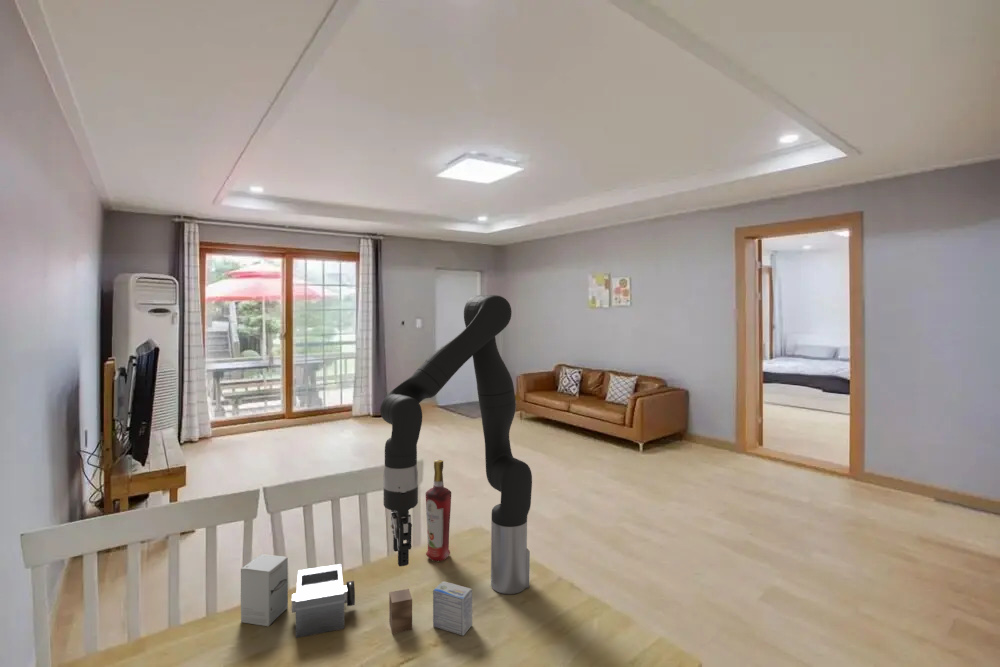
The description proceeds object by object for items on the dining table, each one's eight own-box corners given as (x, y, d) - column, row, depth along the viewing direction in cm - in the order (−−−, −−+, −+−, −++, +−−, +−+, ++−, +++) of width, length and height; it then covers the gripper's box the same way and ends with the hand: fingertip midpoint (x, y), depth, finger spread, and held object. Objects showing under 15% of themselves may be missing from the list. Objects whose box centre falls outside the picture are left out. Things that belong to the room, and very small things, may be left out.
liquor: (419, 559, 145) (420, 462, 143) (436, 549, 151) (436, 456, 149) (440, 566, 141) (440, 466, 139) (456, 555, 147) (456, 460, 146)
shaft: (353, 597, 123) (353, 576, 123) (354, 609, 118) (354, 587, 118) (292, 608, 118) (292, 586, 118) (291, 621, 113) (291, 598, 113)
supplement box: (269, 627, 113) (268, 571, 113) (239, 622, 115) (239, 568, 114) (289, 608, 121) (288, 556, 120) (261, 604, 122) (260, 552, 121)
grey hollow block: (341, 595, 126) (341, 563, 126) (344, 628, 113) (344, 593, 113) (298, 602, 123) (297, 570, 123) (295, 637, 110) (295, 601, 109)
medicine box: (472, 625, 115) (473, 588, 114) (463, 637, 111) (463, 598, 110) (442, 616, 118) (442, 580, 118) (432, 627, 114) (432, 589, 114)
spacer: (408, 618, 117) (408, 588, 117) (412, 629, 113) (412, 599, 113) (389, 622, 116) (389, 592, 115) (392, 633, 112) (392, 602, 111)
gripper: (379, 475, 118) (379, 546, 119) (387, 497, 105) (387, 576, 106) (412, 472, 121) (411, 541, 122) (424, 493, 107) (423, 570, 108)
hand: (400, 557), depth 114 cm, fingers open, 6 cm apart
